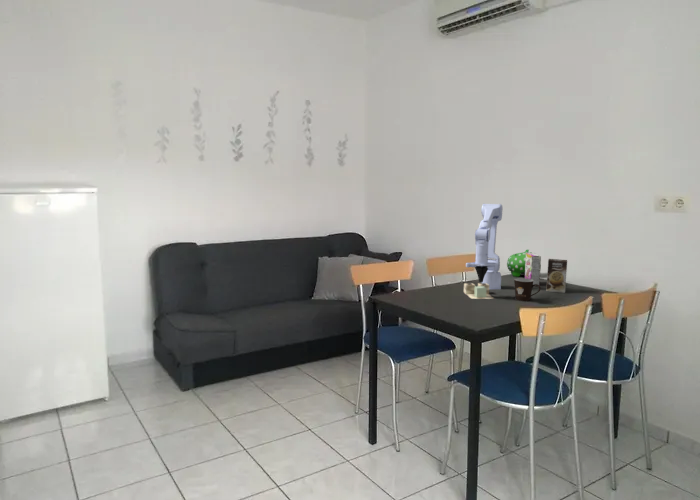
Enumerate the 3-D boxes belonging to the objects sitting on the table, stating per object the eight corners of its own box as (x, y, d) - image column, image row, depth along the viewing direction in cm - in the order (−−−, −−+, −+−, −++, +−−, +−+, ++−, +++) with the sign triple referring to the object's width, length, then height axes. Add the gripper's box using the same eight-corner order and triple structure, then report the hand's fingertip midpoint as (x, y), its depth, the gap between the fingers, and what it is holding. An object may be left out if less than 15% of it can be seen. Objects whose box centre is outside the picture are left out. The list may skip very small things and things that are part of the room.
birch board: (485, 292, 264) (485, 291, 264) (494, 299, 249) (494, 298, 249) (463, 292, 264) (463, 291, 264) (471, 299, 249) (471, 298, 249)
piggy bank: (540, 278, 300) (542, 252, 298) (507, 277, 303) (509, 252, 301) (536, 274, 314) (537, 249, 312) (505, 273, 317) (506, 248, 315)
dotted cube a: (486, 292, 263) (486, 282, 262) (489, 294, 259) (489, 284, 258) (477, 292, 263) (477, 282, 262) (480, 294, 258) (480, 284, 258)
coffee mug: (509, 299, 250) (510, 278, 249) (523, 297, 253) (524, 277, 252) (526, 305, 239) (527, 283, 238) (541, 303, 243) (542, 282, 241)
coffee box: (546, 291, 268) (547, 260, 265) (546, 288, 274) (548, 258, 271) (565, 293, 264) (567, 261, 262) (565, 290, 270) (567, 259, 268)
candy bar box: (523, 281, 291) (525, 252, 289) (532, 282, 291) (534, 252, 289) (530, 286, 280) (532, 255, 278) (539, 286, 280) (541, 255, 278)
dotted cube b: (472, 292, 263) (472, 282, 262) (474, 294, 258) (475, 284, 258) (463, 292, 263) (463, 282, 262) (465, 294, 258) (466, 284, 257)
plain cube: (483, 295, 256) (483, 286, 255) (486, 297, 251) (486, 288, 251) (474, 295, 256) (474, 286, 255) (476, 297, 251) (477, 288, 251)
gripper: (468, 255, 246) (467, 283, 248) (499, 255, 247) (498, 283, 249) (465, 253, 253) (464, 280, 255) (494, 252, 254) (493, 280, 256)
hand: (480, 281), depth 253 cm, fingers closed
